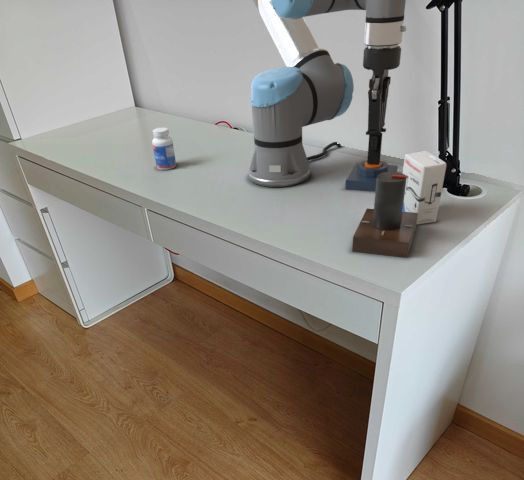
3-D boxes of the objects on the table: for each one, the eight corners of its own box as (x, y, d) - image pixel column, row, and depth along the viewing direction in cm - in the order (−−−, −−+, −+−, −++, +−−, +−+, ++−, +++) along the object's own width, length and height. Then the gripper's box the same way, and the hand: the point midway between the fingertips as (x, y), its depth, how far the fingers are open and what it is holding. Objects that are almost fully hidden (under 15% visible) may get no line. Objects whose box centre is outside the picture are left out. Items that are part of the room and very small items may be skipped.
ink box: (396, 209, 106) (403, 152, 99) (418, 205, 107) (426, 149, 99) (414, 225, 99) (423, 166, 92) (437, 222, 100) (448, 162, 93)
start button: (365, 167, 120) (366, 160, 118) (382, 168, 118) (383, 161, 117) (362, 173, 117) (362, 166, 116) (379, 174, 115) (380, 167, 114)
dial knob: (370, 228, 93) (374, 179, 87) (375, 217, 97) (379, 169, 91) (398, 231, 91) (404, 181, 85) (402, 219, 95) (408, 171, 89)
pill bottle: (152, 168, 136) (145, 130, 130) (166, 162, 139) (159, 125, 133) (166, 171, 133) (160, 133, 127) (180, 165, 136) (174, 127, 130)
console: (365, 222, 102) (366, 207, 100) (415, 227, 99) (418, 212, 97) (352, 251, 93) (353, 235, 91) (407, 257, 90) (409, 241, 88)
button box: (356, 171, 125) (357, 155, 122) (396, 174, 122) (398, 157, 119) (345, 189, 116) (346, 172, 114) (388, 192, 113) (390, 175, 111)
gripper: (396, 51, 96) (385, 173, 110) (405, 40, 105) (394, 154, 120) (357, 51, 98) (351, 171, 113) (370, 41, 107) (363, 153, 122)
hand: (373, 162), depth 116 cm, fingers closed
